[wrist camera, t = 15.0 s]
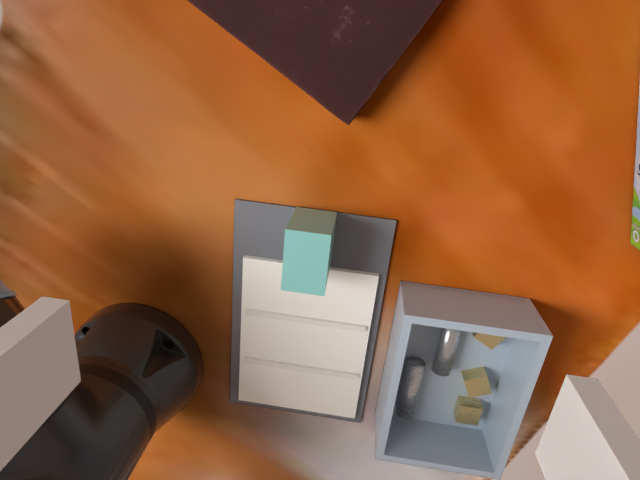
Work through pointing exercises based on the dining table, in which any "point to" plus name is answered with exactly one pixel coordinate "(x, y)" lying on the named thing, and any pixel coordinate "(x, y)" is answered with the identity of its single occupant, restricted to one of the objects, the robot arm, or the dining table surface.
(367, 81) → the book
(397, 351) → the tub
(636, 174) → the snack box
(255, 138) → the dining table surface
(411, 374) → the parts
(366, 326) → the lid
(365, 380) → the mat
